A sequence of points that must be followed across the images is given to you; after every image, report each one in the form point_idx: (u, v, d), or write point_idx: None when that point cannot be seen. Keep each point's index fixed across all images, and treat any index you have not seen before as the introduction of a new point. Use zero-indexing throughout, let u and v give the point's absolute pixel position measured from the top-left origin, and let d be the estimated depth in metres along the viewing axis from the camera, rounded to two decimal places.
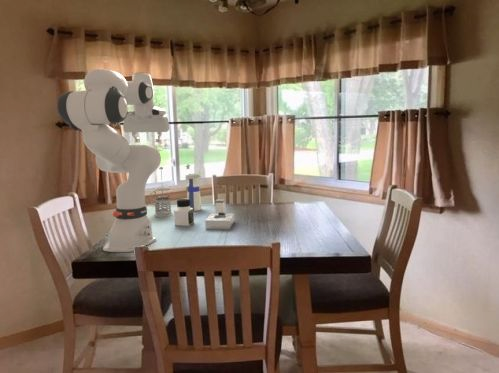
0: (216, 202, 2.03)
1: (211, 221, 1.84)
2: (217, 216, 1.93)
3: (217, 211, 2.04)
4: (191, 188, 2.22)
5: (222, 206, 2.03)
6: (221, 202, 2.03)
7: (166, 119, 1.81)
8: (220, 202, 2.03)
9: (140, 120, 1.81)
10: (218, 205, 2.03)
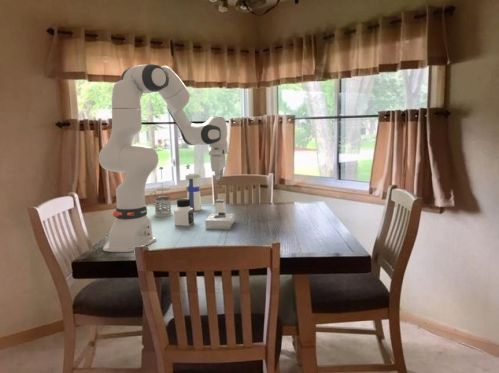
0: (216, 202, 2.03)
1: (211, 221, 1.84)
2: (217, 216, 1.93)
3: (217, 211, 2.04)
4: (191, 188, 2.22)
5: (222, 206, 2.03)
6: (221, 202, 2.03)
7: (214, 160, 1.92)
8: (220, 202, 2.03)
9: None
10: (218, 205, 2.03)
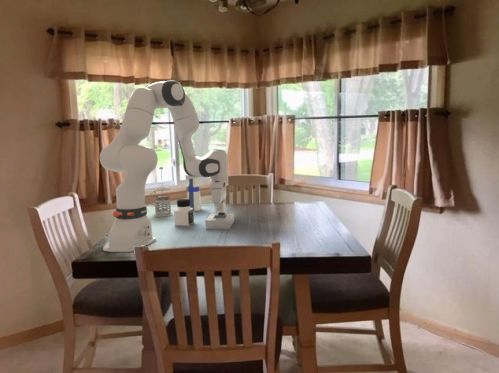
0: None
1: (211, 221, 1.84)
2: (217, 216, 1.93)
3: (217, 211, 2.04)
4: (191, 188, 2.22)
5: (222, 206, 2.03)
6: (221, 202, 2.03)
7: (215, 193, 1.94)
8: None
9: None
10: None
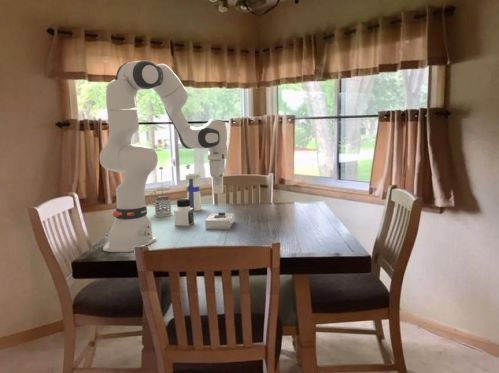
0: None
1: (211, 221, 1.84)
2: (217, 216, 1.93)
3: (215, 185, 1.93)
4: (191, 188, 2.22)
5: (220, 180, 1.92)
6: (219, 176, 1.92)
7: (213, 164, 1.84)
8: None
9: None
10: None
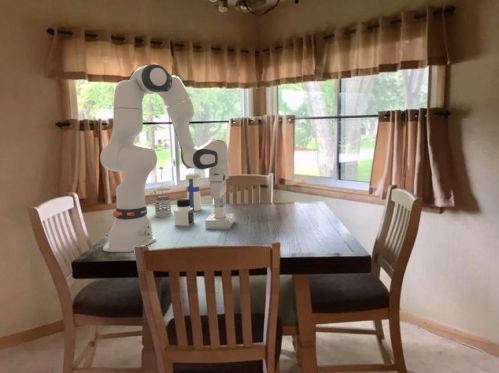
0: (215, 206, 1.88)
1: (211, 221, 1.84)
2: None
3: (217, 216, 1.88)
4: (191, 188, 2.22)
5: (222, 211, 1.88)
6: (221, 206, 1.87)
7: (214, 186, 1.79)
8: (220, 206, 1.87)
9: None
10: (218, 210, 1.88)
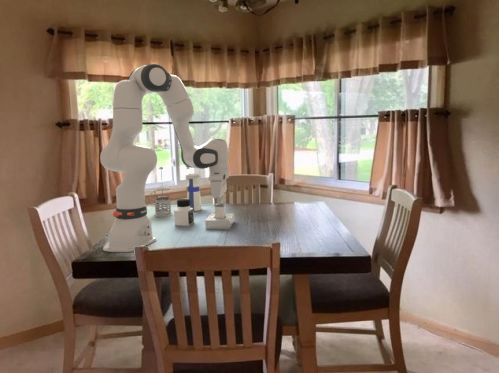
0: (216, 206, 1.88)
1: (211, 221, 1.84)
2: None
3: (217, 216, 1.88)
4: (191, 188, 2.22)
5: (222, 211, 1.88)
6: (221, 206, 1.87)
7: (215, 186, 1.79)
8: (220, 206, 1.88)
9: None
10: (218, 209, 1.88)
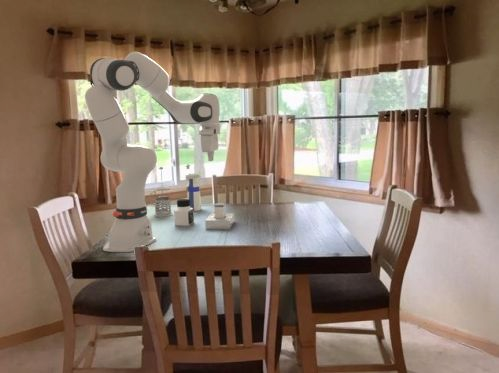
0: (215, 206, 1.88)
1: (211, 221, 1.84)
2: None
3: (217, 216, 1.88)
4: (191, 188, 2.22)
5: (222, 211, 1.88)
6: (221, 206, 1.87)
7: (205, 139, 1.78)
8: (220, 206, 1.87)
9: None
10: (218, 210, 1.88)
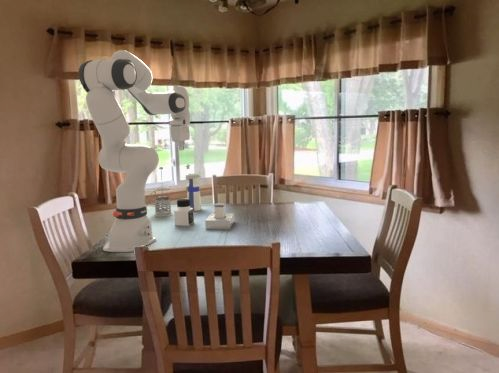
0: (215, 206, 1.88)
1: (211, 221, 1.84)
2: None
3: (217, 216, 1.88)
4: (191, 188, 2.22)
5: (222, 211, 1.88)
6: (221, 206, 1.87)
7: (174, 129, 1.86)
8: (220, 206, 1.87)
9: None
10: (218, 210, 1.88)
